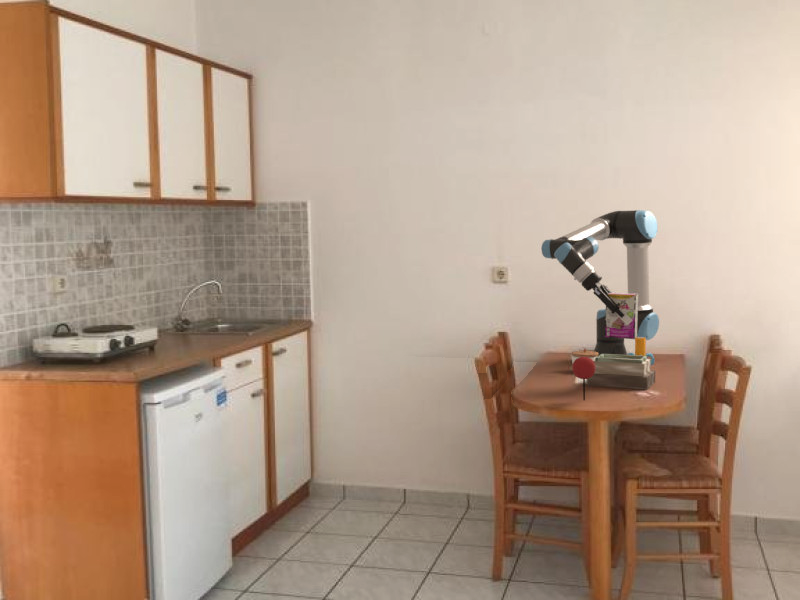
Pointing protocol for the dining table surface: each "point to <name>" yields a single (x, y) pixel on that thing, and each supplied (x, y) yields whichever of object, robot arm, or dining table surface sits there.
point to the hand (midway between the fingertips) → (631, 322)
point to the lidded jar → (584, 354)
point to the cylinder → (641, 348)
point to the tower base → (622, 381)
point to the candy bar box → (615, 324)
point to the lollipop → (583, 369)
